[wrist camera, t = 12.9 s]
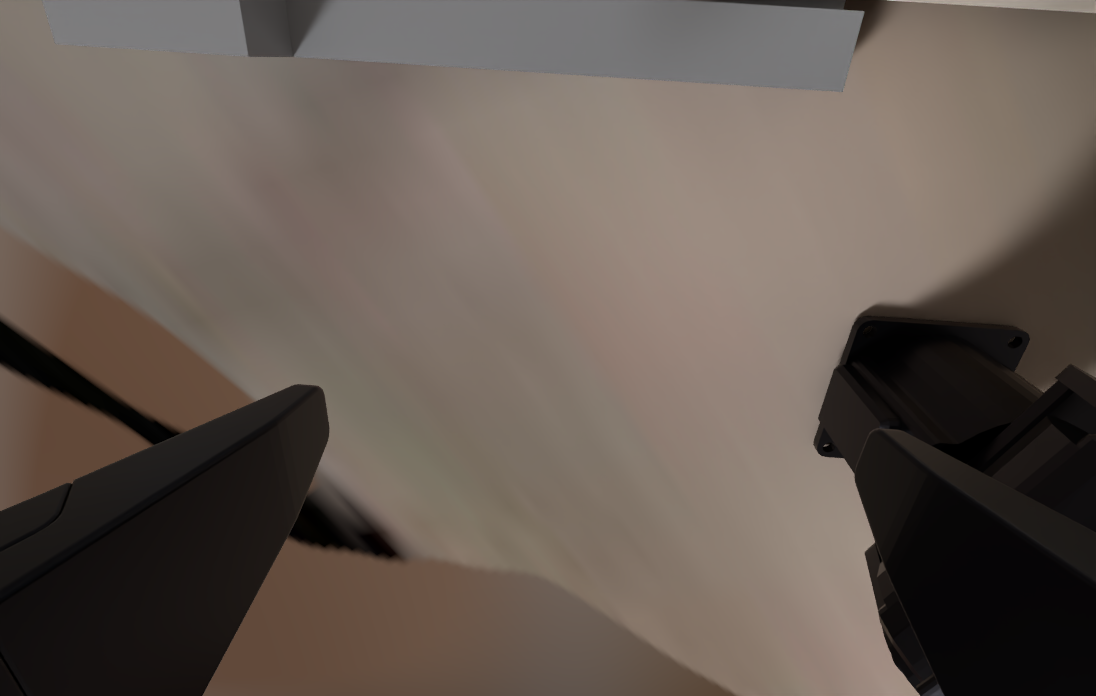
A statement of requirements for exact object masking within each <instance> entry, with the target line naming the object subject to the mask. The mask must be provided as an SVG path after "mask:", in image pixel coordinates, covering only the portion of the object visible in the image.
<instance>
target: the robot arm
mask: <svg viewBox="0 0 1096 696" xmlns="http://www.w3.org/2000/svg"><path fill="white" fill-rule="evenodd" d="M868 326H872V329H871V330H870V331H869V332H868V333H864V334H863V331H864V329H865V328H867V327H868ZM1013 337H1015V339H1014V340H1013V341H1012V342H1010V343H1008V342H1009V340H1010V339H1012V338H1013ZM1029 340H1030V338H1029V335H1028V334H1027V333H1026V332H1025V331H1023V330H1022V329H1020V328H1018V327H1015V326H1004V325H990V324H976V323H962V322H948V321H934V320H920V319H906V318H892V317H878V316H864V317H862V318H859V319H858V320H857V321H856V322H855V323H854V325H853V326H852V329H851V332H850V335H849V338H848V341H847V344H846V347H845V350H844V353H843V356H842V359H841V362H840V365H838V366H837V367H836V368H835V369H834V372H833V375H832V378H831V381H830V384H829V387H828V390H827V393H826V396H825V399H824V402H823V405H822V408H821V411H820V414H819V417H818V419H819V421H820V424H819V427H818V430H817V433H816V436H815V439H814V444H813V445H814V447H815V449H816V450H817V452H818V454H820V455H821V456H825V457H835V458H844V459H845V460H846V462H847V463H848V465H849V466H850V468H851V469H852V471H853V472H854V474H855V483H856V486H857V489H858V492H859V495H860V498H861V501H862V504H863V507H864V510H865V513H866V516H867V519H868V522H869V525H870V527H871V530H872V533H873V536H874V539H875V543H874V544H873V545H872V546H871V547H870V548H869V549H868V550H866V551H865V556H866V561H867V565H868V569H869V573H870V578H871V582H872V586H873V590H874V595H875V599H876V603H877V607H878V613H879V619H880V623H881V625H882V629H883V633H884V637H885V640H886V642H887V645H888V648H889V650H890V652H891V654H892V658H893V661H894V663H895V665H896V666H897V667H898V669H899V670H900V671H901V672H902V673H903V674H904V675H905V677H906V678H907V680H908V681H909V682H910V683H911V685H912V686H913V687H914V688H915V689H916V691H917V692H918V693H919V694H920V696H1096V378H1095V377H1093V376H1091V375H1089V374H1088V373H1086V372H1084V371H1082V370H1081V369H1079V368H1077V367H1075V366H1073V365H1071V364H1070V365H1069V366H1067V367H1066V368H1065V369H1064V370H1063V371H1062V372H1061V373H1060V374H1059V375H1058V376H1057V377H1055V378H1056V379H1057V380H1058V381H1057V382H1056V383H1055V384H1054V385H1053V386H1052V387H1050V388H1049V389H1048V390H1047V391H1046V392H1045V393H1043V392H1042V391H1040V390H1039V389H1037V388H1036V387H1035V386H1033V385H1032V384H1030V383H1029V382H1028V381H1026V380H1025V379H1024V378H1022V377H1021V376H1019V375H1018V374H1017V373H1015V372H1014V371H1015V369H1016V367H1017V365H1018V363H1019V361H1020V359H1021V357H1022V355H1023V353H1024V351H1025V349H1026V347H1027V345H1028V343H1029ZM328 438H329V422H328V415H327V408H326V401H325V395H324V392H323V390H322V388H320V387H319V386H314V385H301V384H297V385H293V386H290V387H288V388H286V389H283V390H281V391H279V392H277V393H274V394H272V395H270V396H267V397H265V398H263V399H260V400H258V401H256V402H253V403H251V404H249V405H246V406H244V407H242V408H240V409H237V410H235V411H233V412H231V413H228V414H226V415H223V416H221V417H219V418H216V419H214V420H212V421H209V422H207V423H205V424H203V425H200V426H198V427H196V428H193V429H191V430H189V431H186V432H184V433H182V434H179V435H177V436H175V437H172V438H170V439H168V440H166V441H163V442H161V443H159V444H156V445H154V446H152V447H149V448H147V449H145V450H142V451H140V452H138V453H135V454H133V455H131V456H129V457H126V458H124V459H122V460H119V461H117V462H115V463H112V464H110V465H108V466H105V467H103V468H101V469H98V470H96V471H94V472H92V473H89V474H87V475H85V476H83V477H80V478H78V479H75V480H74V481H73V483H72V484H71V483H66V484H64V485H61V486H59V487H57V488H54V489H52V490H50V491H47V492H45V493H43V494H40V495H38V496H36V497H33V498H31V499H29V500H26V501H24V502H21V503H19V504H17V505H14V506H12V507H9V508H7V509H5V510H2V511H0V696H202V695H203V694H204V692H205V690H206V688H207V686H208V684H209V682H210V680H211V678H212V677H213V675H214V673H215V671H216V669H217V667H218V666H219V664H220V662H221V660H222V658H223V656H224V654H225V652H226V651H227V649H228V647H229V645H230V643H231V641H232V639H233V638H234V636H235V634H236V632H237V630H238V628H239V626H240V624H241V623H242V621H243V619H244V617H245V615H246V613H247V611H248V610H249V608H250V605H251V604H252V602H253V600H254V598H255V596H256V595H257V593H258V591H259V589H260V587H261V585H262V583H263V582H264V580H265V578H266V576H267V574H268V572H269V570H270V568H271V567H272V565H273V563H274V561H275V559H276V557H277V555H278V554H279V552H280V550H281V548H282V546H283V544H284V542H285V540H286V539H287V537H288V535H289V533H290V531H291V529H292V527H293V525H294V523H295V521H296V519H297V517H298V515H299V512H300V510H301V508H302V505H303V503H304V500H305V498H306V495H307V492H308V490H309V487H310V485H311V482H312V480H313V477H314V475H315V472H316V470H317V467H318V465H319V462H320V459H321V457H322V454H323V452H324V449H325V447H326V444H327V442H328ZM827 443H831V444H830V445H828V446H825V447H823V446H824V445H825V444H827Z"/></svg>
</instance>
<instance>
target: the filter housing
mask: <svg viewBox="0 0 1096 696" xmlns="http://www.w3.org/2000/svg"><path fill="white" fill-rule="evenodd" d="M42 2H43V5H44V9H45V12H46V15H47V19H48V22H49V25H50V28H51V32H52V35H53V38H54V42H55V44H62V45H77V46H93V47H108V48H124V49H140V50H155V51H171V52H186V53H202V54H217V55H233V56H251V57H305V58H321V59H336V60H352V61H368V62H383V63H399V64H414V65H430V66H446V67H461V68H477V69H493V70H508V71H524V72H539V73H555V74H571V75H586V76H602V77H617V78H633V79H649V80H664V81H680V82H696V83H711V84H727V85H742V86H758V87H774V88H789V89H805V90H820V91H836V92H843V89H844V85H845V82H846V78H847V74H848V71H849V67H850V63H851V60H852V56H853V52H854V49H855V45H856V41H857V37H858V34H859V30H860V26H861V23H862V19H863V15H864V12H865V11H853V10H843V8H844V4H845V0H42Z"/></svg>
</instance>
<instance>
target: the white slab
mask: <svg viewBox="0 0 1096 696" xmlns="http://www.w3.org/2000/svg"><path fill="white" fill-rule="evenodd" d="M889 1H906V2H922V3H939V4H955V5H971V6H988V7H1004V8H1021V9H1037V10H1054V11H1070V12H1086V13H1096V0H889Z"/></svg>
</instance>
